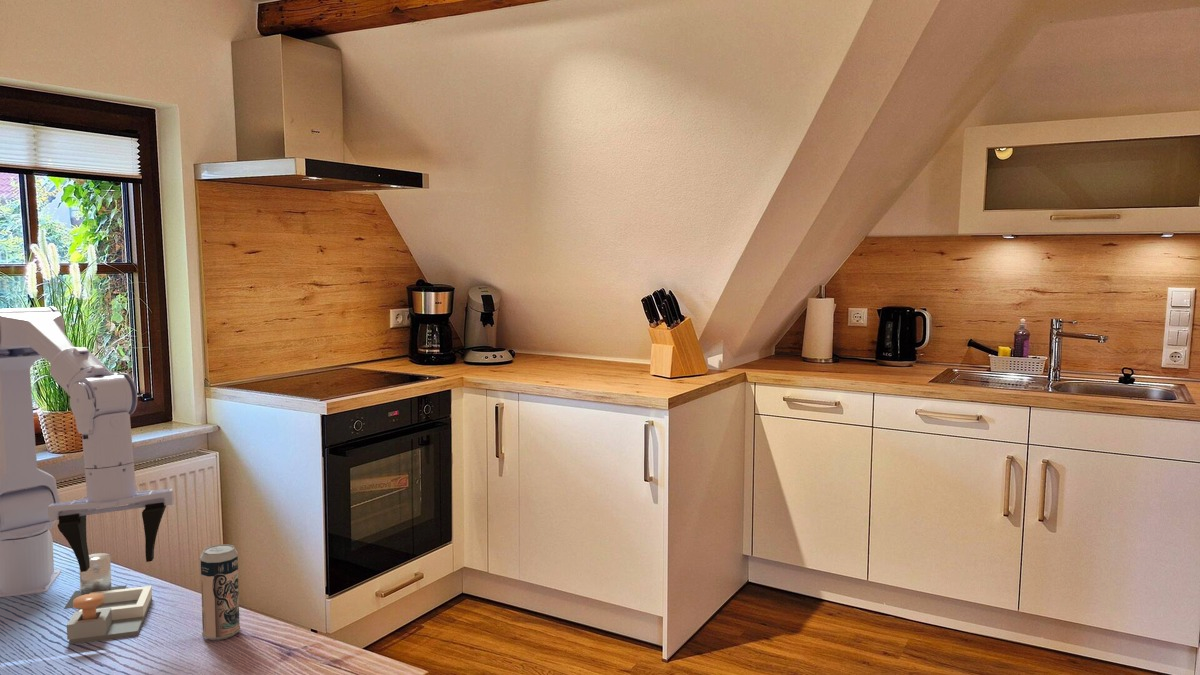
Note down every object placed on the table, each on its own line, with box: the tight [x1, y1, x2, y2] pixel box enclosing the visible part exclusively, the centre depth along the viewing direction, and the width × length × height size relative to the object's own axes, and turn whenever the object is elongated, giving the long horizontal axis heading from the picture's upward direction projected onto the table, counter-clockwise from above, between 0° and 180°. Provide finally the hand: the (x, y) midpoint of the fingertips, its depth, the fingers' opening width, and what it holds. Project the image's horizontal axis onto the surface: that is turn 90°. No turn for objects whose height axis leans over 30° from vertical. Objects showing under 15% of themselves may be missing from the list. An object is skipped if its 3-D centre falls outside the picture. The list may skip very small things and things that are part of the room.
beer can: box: [199, 544, 241, 641], centre depth 114 cm, size 5×5×12 cm
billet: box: [78, 552, 112, 596], centre depth 126 cm, size 4×4×6 cm
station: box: [66, 585, 153, 645], centre depth 118 cm, size 13×8×3 cm, turn 21°
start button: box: [72, 593, 105, 620], centre depth 113 cm, size 4×4×3 cm
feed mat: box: [63, 584, 128, 610], centre depth 126 cm, size 7×7×1 cm
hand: (118, 564), depth 113 cm, fingers open, 7 cm apart
